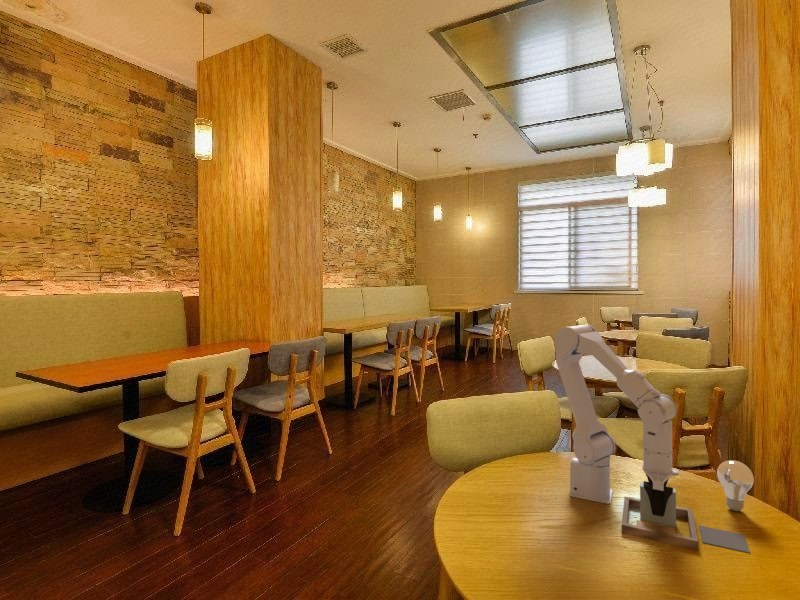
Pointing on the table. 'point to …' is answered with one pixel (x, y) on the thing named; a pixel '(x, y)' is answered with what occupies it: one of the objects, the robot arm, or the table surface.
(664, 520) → the light grey slab
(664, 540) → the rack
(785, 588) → the table surface
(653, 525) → the offcut upper
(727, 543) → the mat
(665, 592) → the table surface
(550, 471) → the table surface
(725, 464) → the light bulb
